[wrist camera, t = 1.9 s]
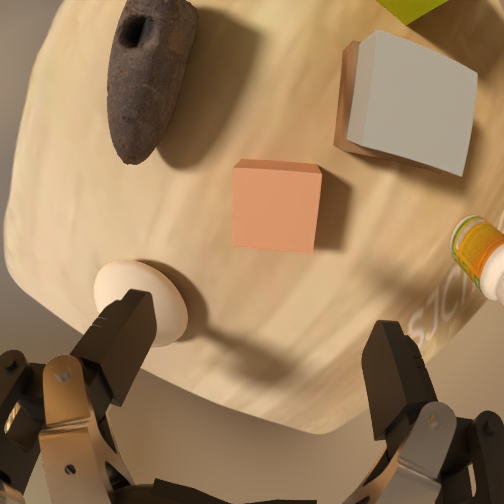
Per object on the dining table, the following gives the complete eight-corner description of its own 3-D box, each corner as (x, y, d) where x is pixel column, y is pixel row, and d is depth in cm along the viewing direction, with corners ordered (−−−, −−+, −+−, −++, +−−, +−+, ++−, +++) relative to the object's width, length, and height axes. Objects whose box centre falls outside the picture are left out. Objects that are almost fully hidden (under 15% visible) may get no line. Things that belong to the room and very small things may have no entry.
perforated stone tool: (175, 163, 23) (137, 184, 17) (123, 153, 23) (76, 170, 17) (218, 1, 16) (193, -33, 10) (161, -1, 16) (122, -28, 10)
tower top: (359, 44, 14) (376, 28, 10) (447, 76, 13) (477, 73, 10) (346, 139, 17) (361, 145, 14) (433, 163, 17) (461, 176, 13)
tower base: (342, 52, 17) (353, 40, 14) (430, 77, 17) (453, 73, 13) (332, 144, 21) (341, 150, 17) (419, 163, 20) (440, 173, 17)
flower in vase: (160, 238, 26) (-9, 482, 4) (209, 327, 31) (139, 550, 9) (79, 270, 30) (-50, 425, 8) (126, 340, 34) (43, 498, 12)
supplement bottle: (439, 250, 23) (488, 310, 15) (465, 204, 21) (527, 251, 12) (468, 269, 24) (513, 326, 15) (493, 227, 21) (548, 275, 13)
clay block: (241, 158, 22) (233, 167, 19) (316, 164, 22) (322, 173, 18) (240, 226, 25) (232, 246, 22) (309, 231, 25) (312, 253, 21)
